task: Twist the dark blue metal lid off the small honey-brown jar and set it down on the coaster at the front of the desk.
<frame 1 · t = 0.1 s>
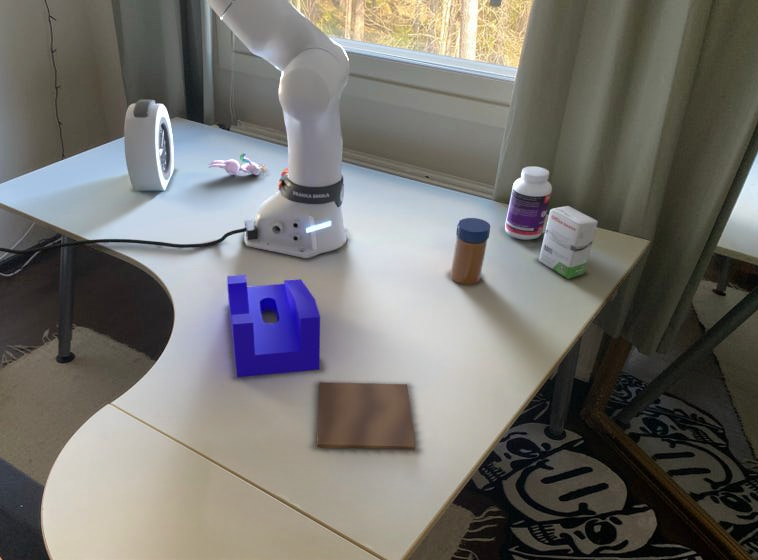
hand: (494, 0, 112), 48 cm above the table, tool pointing down, fingers open, 8 cm apart
lid: (473, 226, 127), point 11 cm above the table, screwed on, not yet turned
alarm clock: (155, 180, 173), on the table
rabbit figure: (237, 175, 176), on the table
bracket: (271, 337, 118), on the table
coaster: (364, 415, 101), on the table
ink box: (560, 268, 137), on the table
jar: (465, 277, 134), on the table
pill bottle: (522, 234, 149), on the table
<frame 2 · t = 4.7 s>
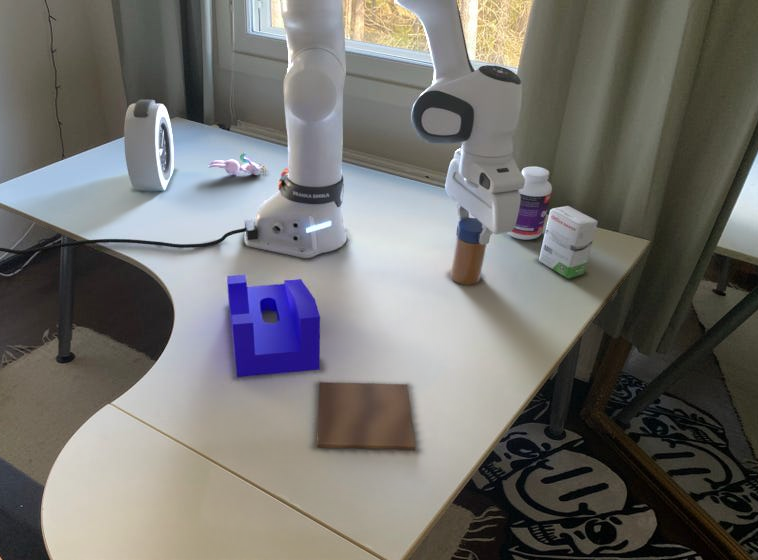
hand: (472, 234, 128), 10 cm above the table, tool pointing down, fingers closed on lid, 6 cm apart
lid: (473, 226, 127), point 11 cm above the table, screwed on, not yet turned, touching gripper
everything else where it was.
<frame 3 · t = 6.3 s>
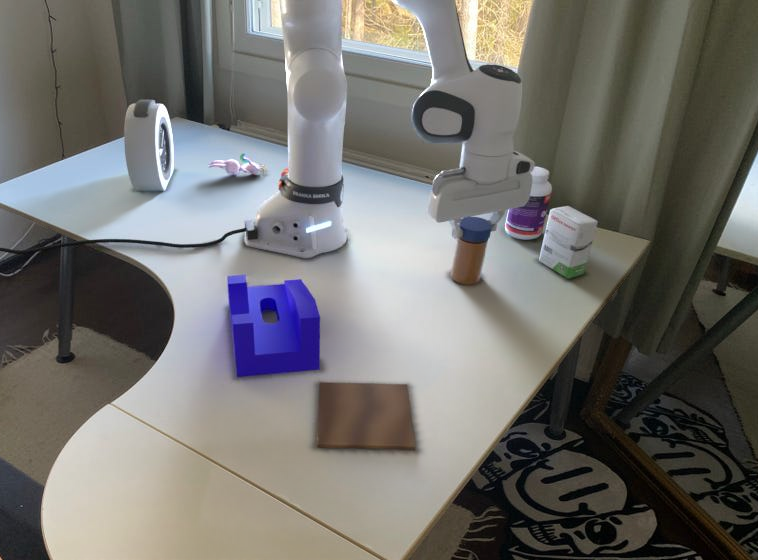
hand: (473, 233, 128), 10 cm above the table, tool pointing down, fingers closed on lid, 6 cm apart
lid: (475, 225, 127), point 11 cm above the table, turned 94° so far, risen 0.2 cm, still on its thread, touching gripper
everything else where it was.
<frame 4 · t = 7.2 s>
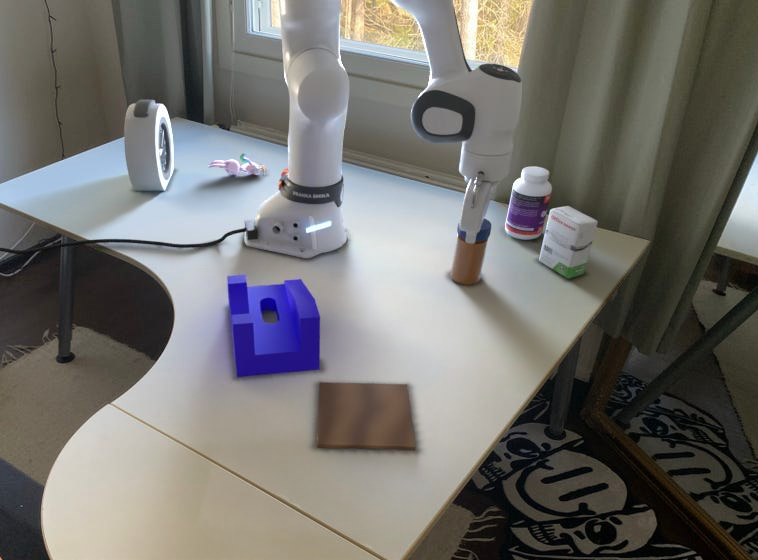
hand: (473, 233, 128), 10 cm above the table, tool pointing down, fingers closed on lid, 6 cm apart
lid: (474, 224, 126), point 12 cm above the table, turned 140° so far, risen 0.4 cm, still on its thread, touching gripper
everything else where it was.
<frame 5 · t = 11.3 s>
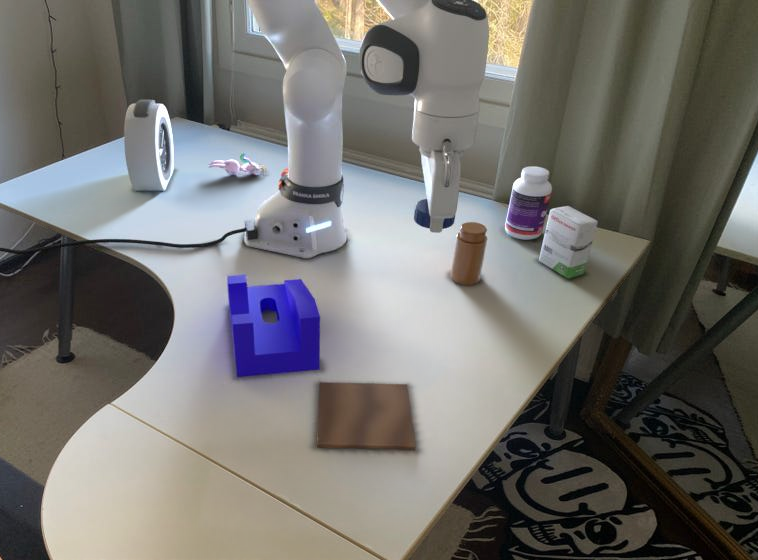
hand: (433, 219, 102), 23 cm above the table, tool pointing down, fingers closed on lid, 6 cm apart
lid: (435, 209, 101), point 25 cm above the table, off its thread, touching gripper
everything else where it was.
when the fingers open (1 cm above the table, at t = 18.3 s): lid stays where it is, resting on coaster.
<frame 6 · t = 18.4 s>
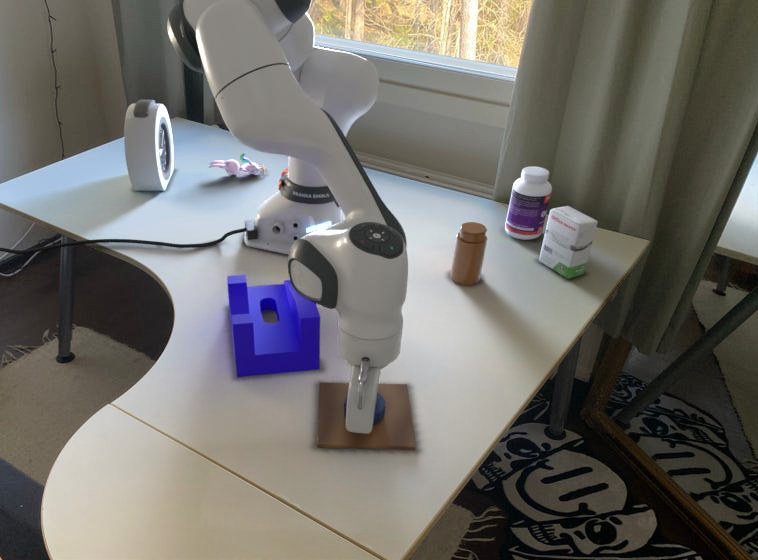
hand: (363, 412, 101), 1 cm above the table, tool pointing down, fingers open, 6 cm apart
lid: (364, 403, 100), point 2 cm above the table, off its thread, touching coaster
everything else where it was.
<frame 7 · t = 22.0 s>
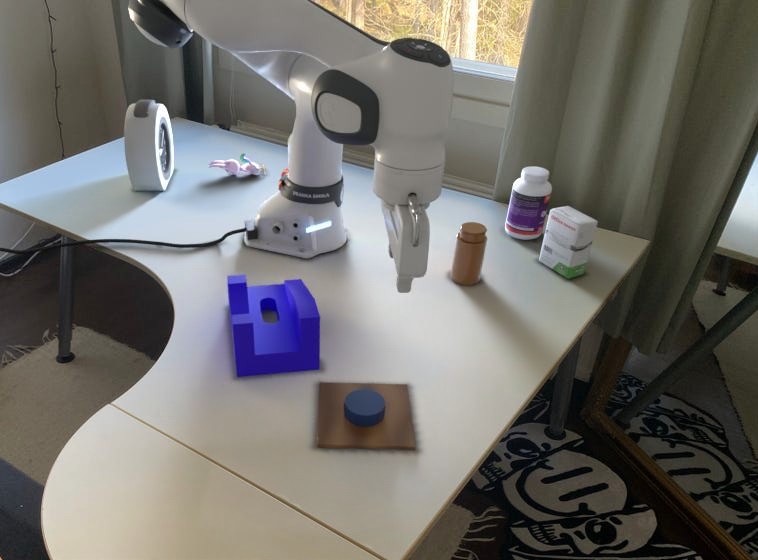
hand: (398, 272, 94), 21 cm above the table, tool pointing down, fingers open, 8 cm apart
nothing on the table moved.
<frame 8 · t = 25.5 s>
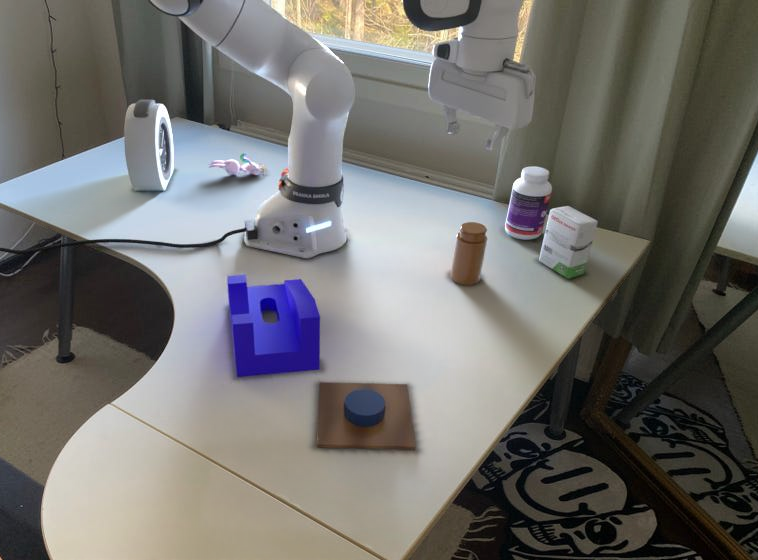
hand: (471, 140, 112), 29 cm above the table, tool pointing down, fingers open, 8 cm apart
nothing on the table moved.
at the end: lid inside the target area on the coaster (0.2 cm from its centre), point 2.5 cm above the coaster's base; lid came off its thread; the gripper is holding nothing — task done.
